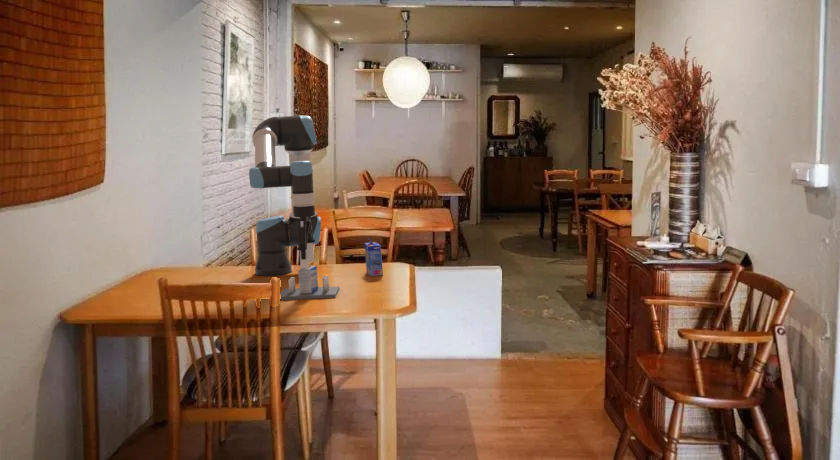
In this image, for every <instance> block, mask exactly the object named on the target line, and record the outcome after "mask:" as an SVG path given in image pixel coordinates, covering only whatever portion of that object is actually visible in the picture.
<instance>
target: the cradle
mask: <svg viewBox="0 0 840 460" xmlns="http://www.w3.org/2000/svg"><path fill="white" fill-rule="evenodd" d="M295 280H296V277H293V276H291V277H290V278H288V281H287V282H288V288H284V289H283V290H282V291H281V292H280V294H281V300H280V301H289V300H290V301H292V300H295V301H297V300H315V299H316V300H317V299H336V298H337V296H338V294H339V291H340V286H329V285H330V283H329V282H330V281H329V275H323V277H322V279H321V280H322V286H320V287H319V286H318V289H317V290H316V291H314V292H313V293H312V294H301V293H300V288H298V287H296V281H295Z"/></svg>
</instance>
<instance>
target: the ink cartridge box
mask: <svg viewBox="0 0 840 460" xmlns="http://www.w3.org/2000/svg"><path fill="white" fill-rule="evenodd" d="M367 240H368V241H369V242H364V254H365V257H364V258H365V267H366V268H365V269H366V273H367V275H368V276H370V277H375V276H376V277H377V276H383V275H384V269H383V258H382V246H381V244H379V243H378V242H376V241H373V242H372V240H371V239H370V238H367Z"/></svg>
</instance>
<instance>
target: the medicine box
mask: <svg viewBox="0 0 840 460" xmlns="http://www.w3.org/2000/svg"><path fill="white" fill-rule="evenodd" d="M297 273H298V287H299V288H300V293H301V294H312V293H313V292H314V291H316V290H317V289H318V287H319V280H318V267H317V265H309V268H304V269H301V268H300V269H298V270H297Z"/></svg>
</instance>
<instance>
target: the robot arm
mask: <svg viewBox="0 0 840 460" xmlns="http://www.w3.org/2000/svg"><path fill="white" fill-rule="evenodd" d="M317 143H318V142H317V137H316V131H315V127H314V121H313V118H312V117H311V116H309V115H301V114H300V115H287V116H272V117H269V118H267V119H265V120H263V121H261V122H260V123H259V124H258V125H257V127H256V128H254V130H253V133H252V144H253V146H254V151H255V152H254V167H250V168H249V170H248V177H249V186H250V188H251V189H270V188H286V187H290V199H291V206H292V207H291V211H290V213H289V214H288V218H285V216H284V215H275V216H274V215H273V216H269V217H265V218H261V219H259V220H257V221H256V223H255V228H256V229H255V233H256V241H257V242H256V244H257V245H256V247H257V259H256V262H255V266H254V274H255V275H257V276H263V277H264V276H265V277H267V276H279V275H284V274H289V273H291V272H292V271H293V269H292V268H293V267H292V264H291V262H290V259H289V256H288V255H287V247H288V248H289V247H296V250H297V251H299V262H300V269H304V268H309V266H310V265H309V262H315V256H314V245H317V244H319V243H320V240H321V230H322V217H321V216H318V212H317V211H316V209H315V205H314V204H315V191H314V176H313V175H314V173H313V171H314V170H313V163H312V161H311V152H312V151H313V150H314V145H317ZM278 146H279V147H283V146H284V147H283V148H284V151H285V152H287V154H288V164H289V165H277V166H276V164H277V162H276V147H278Z"/></svg>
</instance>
